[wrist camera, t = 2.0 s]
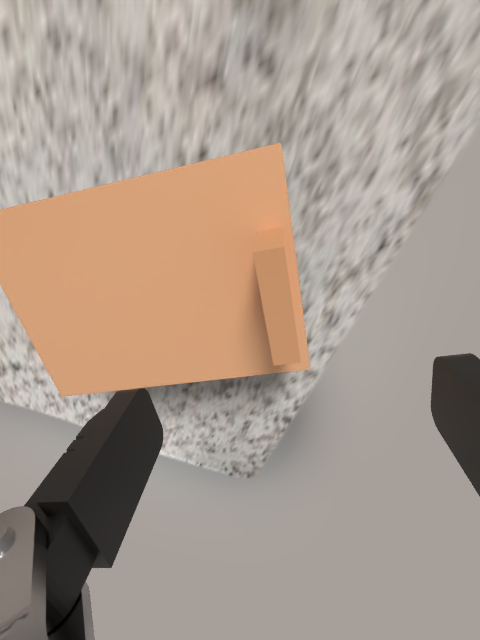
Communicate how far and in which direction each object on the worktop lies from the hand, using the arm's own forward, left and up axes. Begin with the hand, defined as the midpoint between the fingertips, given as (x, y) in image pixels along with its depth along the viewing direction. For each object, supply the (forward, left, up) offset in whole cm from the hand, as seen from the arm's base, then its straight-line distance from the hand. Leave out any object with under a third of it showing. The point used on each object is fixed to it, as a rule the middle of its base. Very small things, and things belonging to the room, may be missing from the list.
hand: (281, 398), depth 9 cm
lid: (-9, 0, -13) cm, 16 cm away
